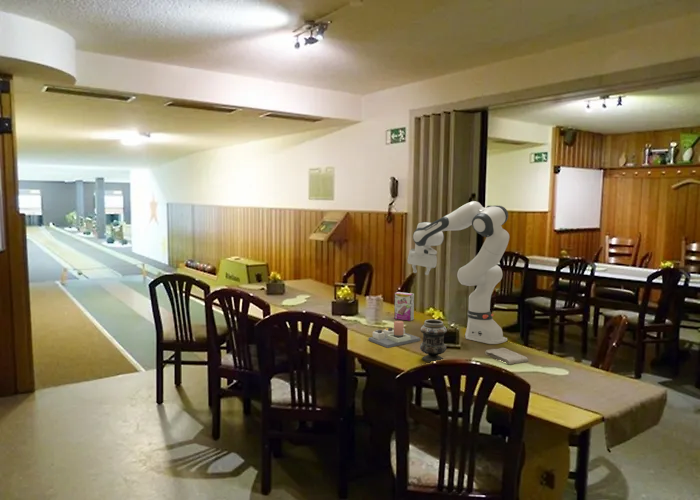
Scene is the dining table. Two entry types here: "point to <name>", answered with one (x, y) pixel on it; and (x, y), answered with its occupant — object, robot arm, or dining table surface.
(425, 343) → the apothecary jar
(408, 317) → the candy bar box
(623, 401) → the dining table surface
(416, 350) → the dining table surface
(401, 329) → the lockout cap
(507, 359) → the washcloth
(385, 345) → the board
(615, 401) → the dining table surface
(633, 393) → the dining table surface
